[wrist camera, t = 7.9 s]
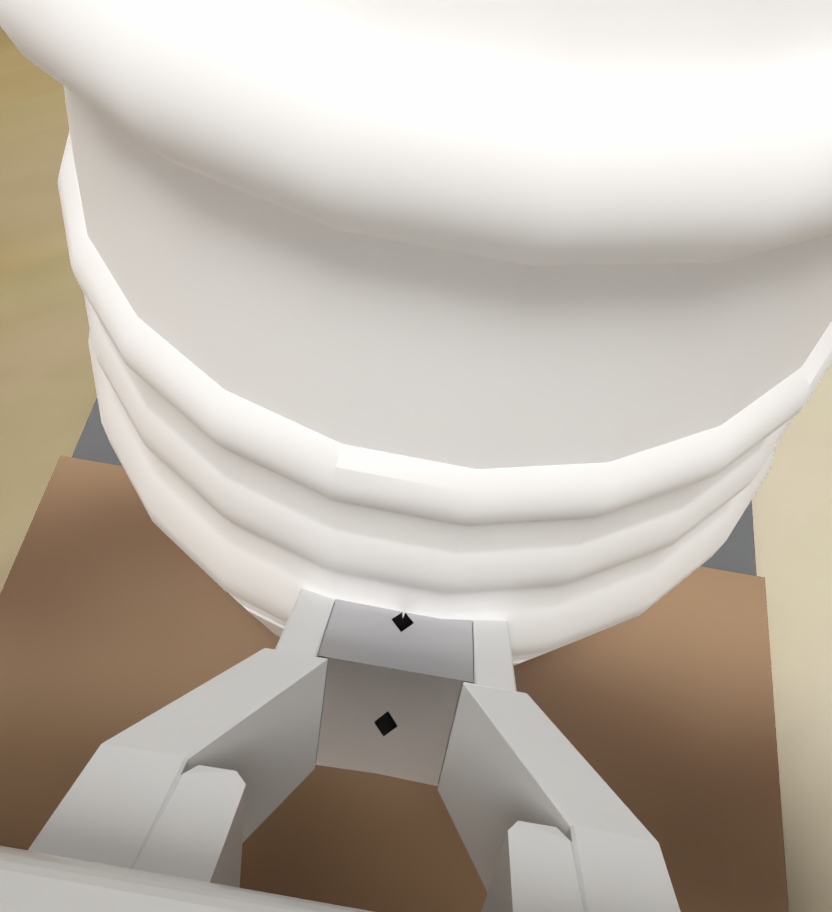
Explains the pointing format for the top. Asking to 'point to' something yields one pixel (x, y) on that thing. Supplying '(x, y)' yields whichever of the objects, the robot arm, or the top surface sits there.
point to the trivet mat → (728, 557)
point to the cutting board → (369, 794)
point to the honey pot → (447, 285)
